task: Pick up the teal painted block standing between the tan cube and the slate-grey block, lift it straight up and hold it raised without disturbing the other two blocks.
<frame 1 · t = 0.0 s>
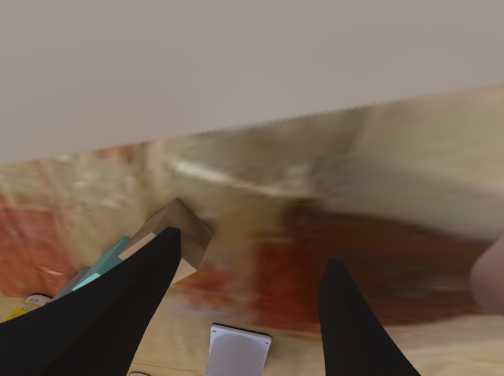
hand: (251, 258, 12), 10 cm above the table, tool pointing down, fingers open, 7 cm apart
slate block: (94, 284, 34), on the table
supplement bottle: (49, 303, 38), on the table
tan cube: (179, 226, 26), on the table
teal block: (131, 258, 30), on the table
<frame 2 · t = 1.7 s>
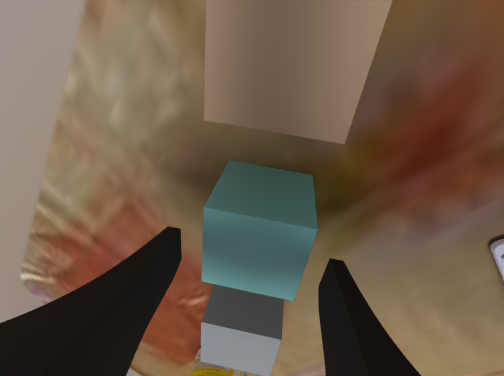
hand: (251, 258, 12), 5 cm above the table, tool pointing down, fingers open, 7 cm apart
slate block: (249, 288, 21), on the table
supplement bottle: (224, 353, 28), on the table
tan cube: (291, 45, 12), on the table
teal block: (264, 201, 17), on the table
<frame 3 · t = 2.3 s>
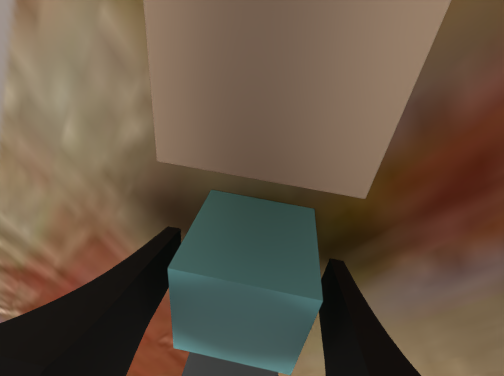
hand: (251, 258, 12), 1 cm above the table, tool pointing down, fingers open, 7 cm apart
slate block: (240, 328, 18), on the table
tan cube: (286, 49, 9), on the table
teal block: (255, 236, 14), on the table
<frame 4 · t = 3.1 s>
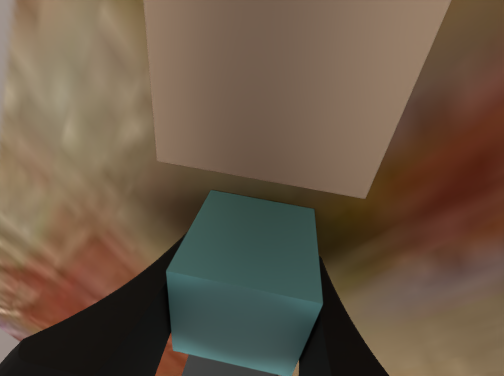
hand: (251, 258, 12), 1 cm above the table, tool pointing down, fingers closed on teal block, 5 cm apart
slate block: (240, 328, 18), on the table
tan cube: (286, 49, 9), on the table
teal block: (255, 238, 14), on the table, touching gripper
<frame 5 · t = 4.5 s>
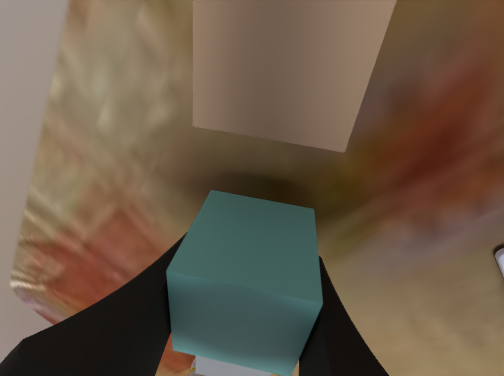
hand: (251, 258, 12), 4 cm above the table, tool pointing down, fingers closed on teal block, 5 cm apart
slate block: (246, 295, 21), on the table
supplement bottle: (221, 360, 27), on the table
tan cube: (287, 45, 11), on the table
teal block: (255, 237, 14), point 3 cm above the table, touching gripper
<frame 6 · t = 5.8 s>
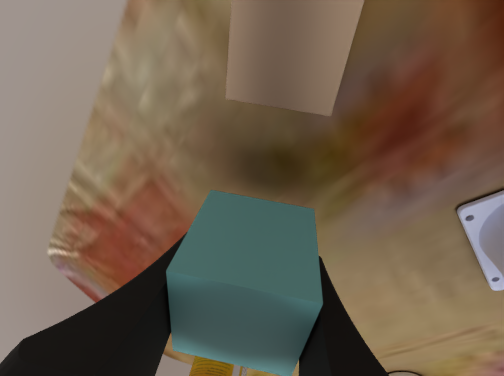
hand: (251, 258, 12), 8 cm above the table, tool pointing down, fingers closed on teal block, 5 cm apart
supplement bottle: (230, 321, 31), on the table
tan cube: (290, 43, 15), on the table
teal block: (255, 237, 14), point 7 cm above the table, touching gripper
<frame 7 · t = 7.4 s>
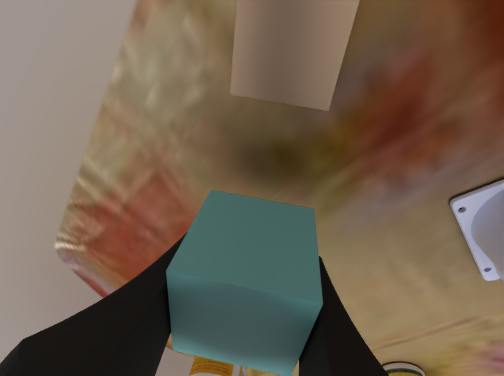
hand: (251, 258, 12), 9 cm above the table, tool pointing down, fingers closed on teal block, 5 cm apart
supplement bottle 2: (398, 370, 32), on the table
supplement bottle: (232, 314, 31), on the table
tan cube: (291, 42, 16), on the table
teal block: (255, 237, 14), point 8 cm above the table, touching gripper
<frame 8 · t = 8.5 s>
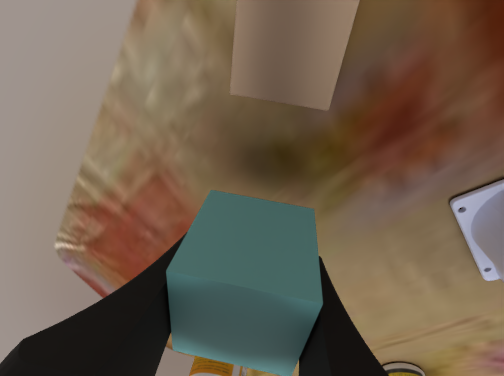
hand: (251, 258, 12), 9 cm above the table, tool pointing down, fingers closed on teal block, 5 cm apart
supplement bottle 2: (398, 370, 32), on the table
supplement bottle: (232, 314, 31), on the table
tan cube: (291, 42, 16), on the table
teal block: (255, 237, 14), point 8 cm above the table, touching gripper
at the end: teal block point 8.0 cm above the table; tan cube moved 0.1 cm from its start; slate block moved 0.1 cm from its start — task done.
